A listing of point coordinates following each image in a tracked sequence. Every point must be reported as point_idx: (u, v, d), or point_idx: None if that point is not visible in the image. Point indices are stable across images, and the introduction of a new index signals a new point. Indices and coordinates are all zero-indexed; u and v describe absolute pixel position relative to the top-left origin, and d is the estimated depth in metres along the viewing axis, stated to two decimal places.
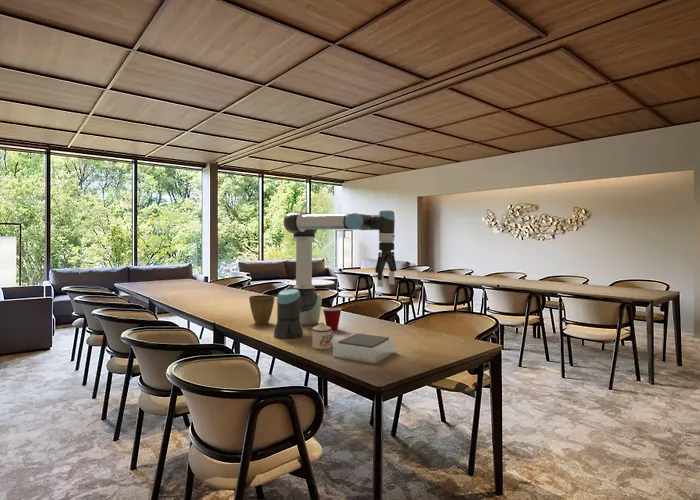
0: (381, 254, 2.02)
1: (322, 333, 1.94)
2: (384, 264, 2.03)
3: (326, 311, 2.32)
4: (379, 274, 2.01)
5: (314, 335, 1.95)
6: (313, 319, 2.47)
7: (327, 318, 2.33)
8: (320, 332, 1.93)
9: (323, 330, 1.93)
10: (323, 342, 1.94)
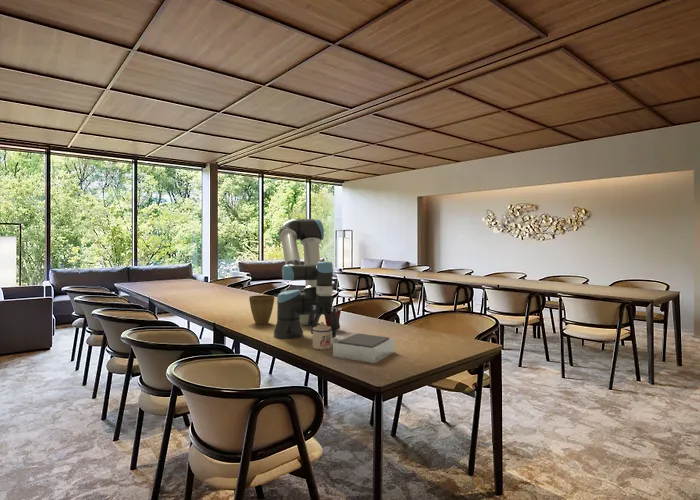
0: None
1: (322, 333, 1.94)
2: (315, 318, 1.99)
3: None
4: None
5: (314, 335, 1.95)
6: None
7: None
8: (320, 332, 1.93)
9: (323, 330, 1.93)
10: (323, 342, 1.94)
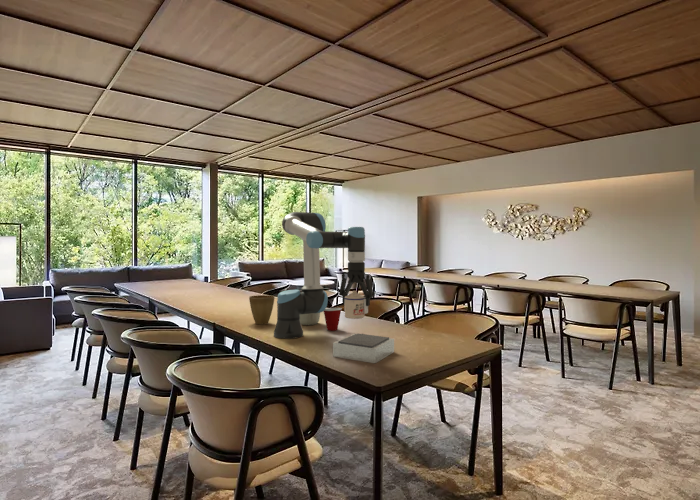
0: None
1: (356, 302, 1.83)
2: (347, 287, 1.89)
3: (326, 311, 2.32)
4: None
5: (347, 304, 1.84)
6: (313, 319, 2.47)
7: (327, 318, 2.33)
8: (353, 300, 1.83)
9: (357, 298, 1.83)
10: (357, 311, 1.83)
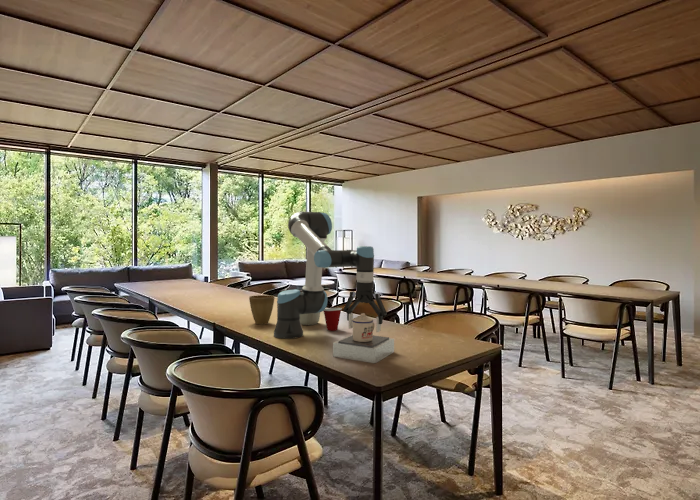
0: None
1: (364, 325, 1.81)
2: (353, 305, 1.88)
3: (326, 311, 2.32)
4: None
5: (355, 327, 1.82)
6: (313, 319, 2.47)
7: (327, 318, 2.33)
8: (362, 323, 1.81)
9: (365, 321, 1.81)
10: (365, 334, 1.81)
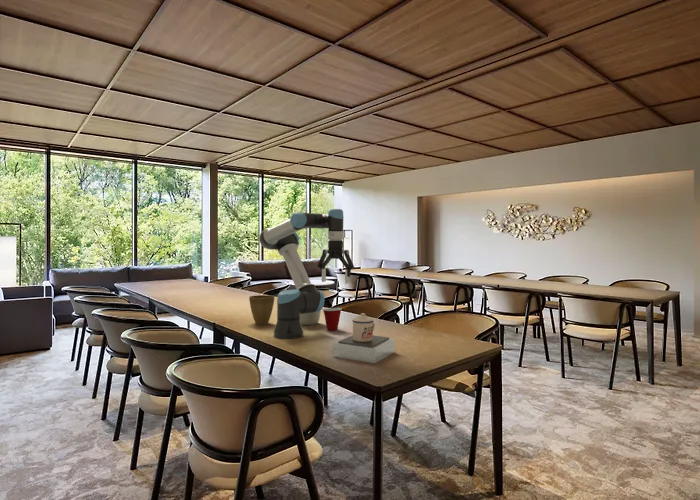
0: None
1: (364, 325, 1.81)
2: (325, 261, 2.14)
3: (326, 311, 2.32)
4: None
5: (355, 327, 1.82)
6: (313, 319, 2.47)
7: (327, 318, 2.33)
8: (362, 323, 1.81)
9: (365, 321, 1.81)
10: (365, 334, 1.81)
